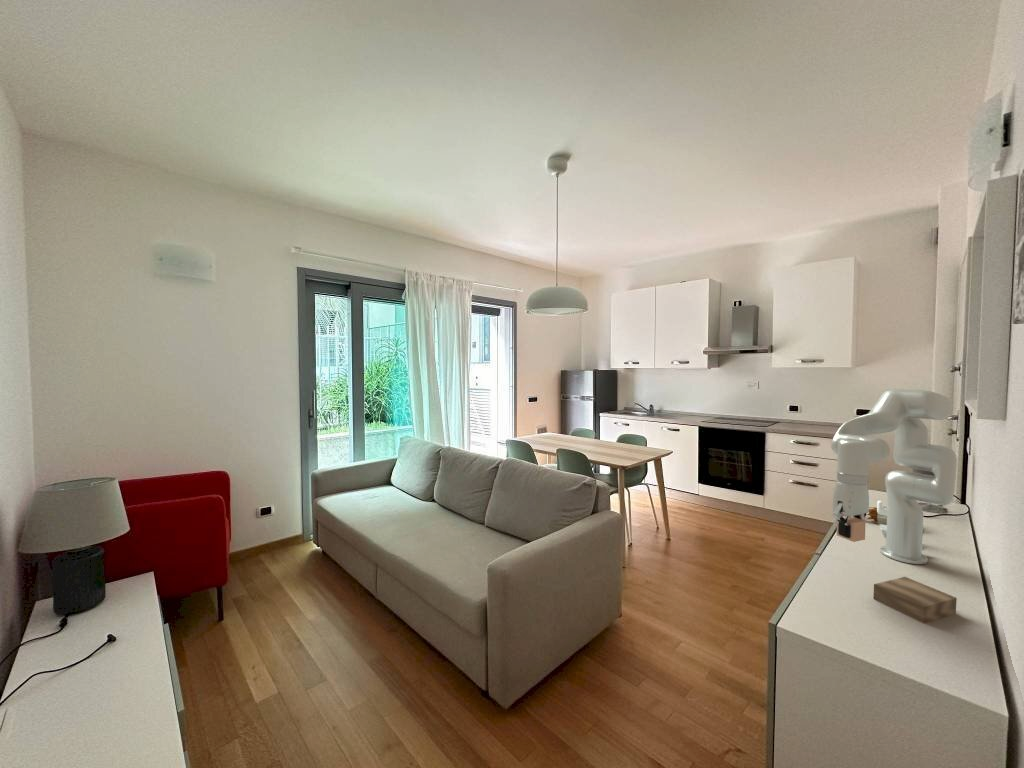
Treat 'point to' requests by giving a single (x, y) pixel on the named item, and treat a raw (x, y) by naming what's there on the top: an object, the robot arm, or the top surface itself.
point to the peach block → (855, 529)
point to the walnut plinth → (915, 599)
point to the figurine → (883, 512)
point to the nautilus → (876, 516)
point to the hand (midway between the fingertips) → (850, 534)
